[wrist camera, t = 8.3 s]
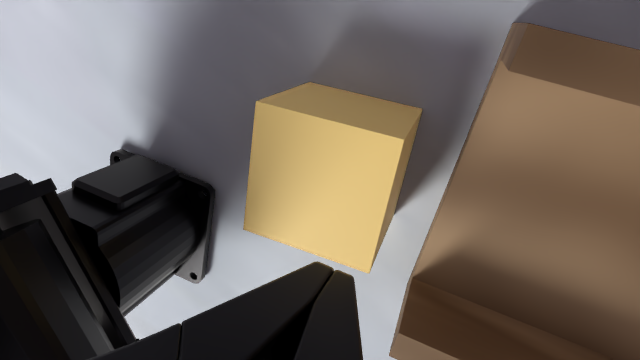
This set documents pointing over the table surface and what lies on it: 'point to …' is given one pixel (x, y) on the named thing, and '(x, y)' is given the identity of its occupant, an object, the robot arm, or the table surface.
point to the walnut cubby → (537, 214)
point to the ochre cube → (328, 170)
